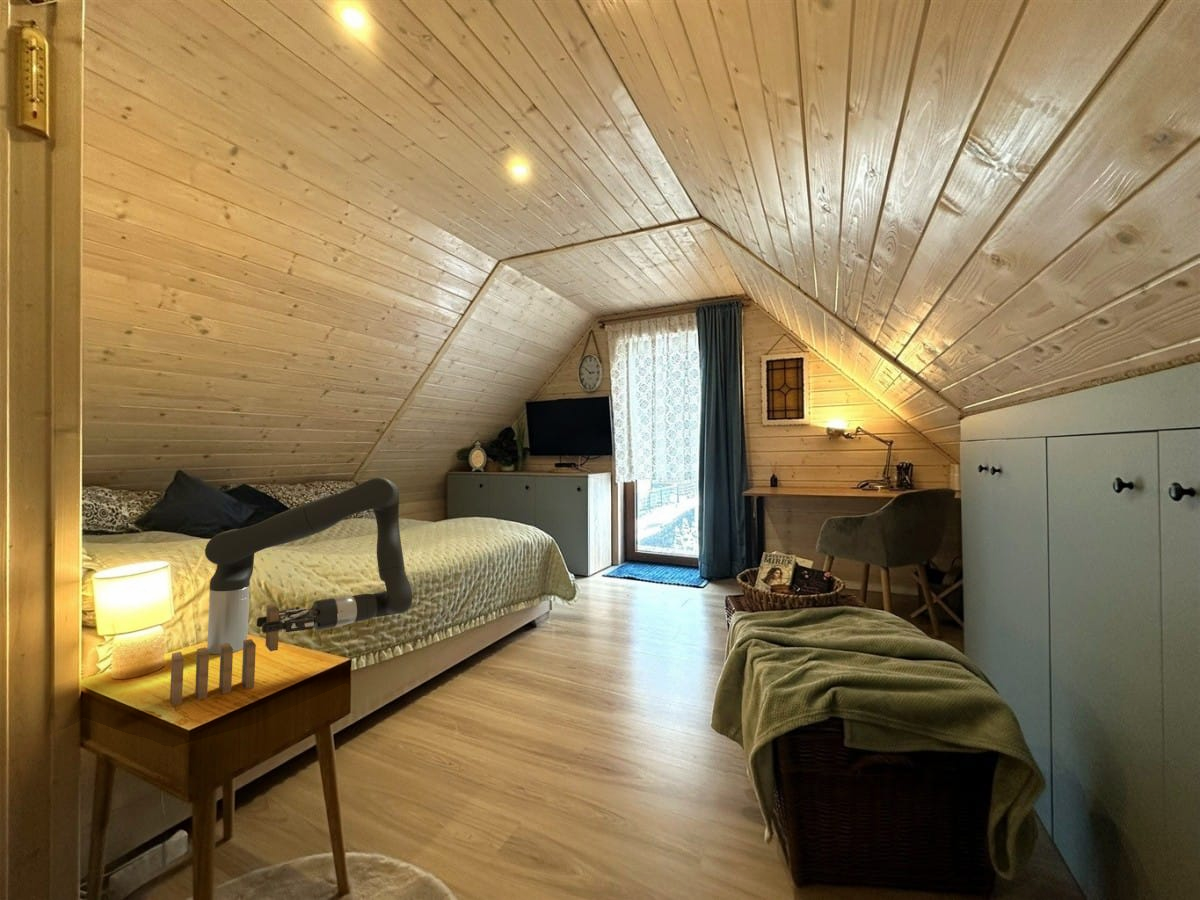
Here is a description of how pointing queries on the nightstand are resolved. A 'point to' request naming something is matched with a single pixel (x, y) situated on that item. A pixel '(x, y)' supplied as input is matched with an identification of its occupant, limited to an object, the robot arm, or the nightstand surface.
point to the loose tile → (273, 636)
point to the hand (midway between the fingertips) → (260, 625)
